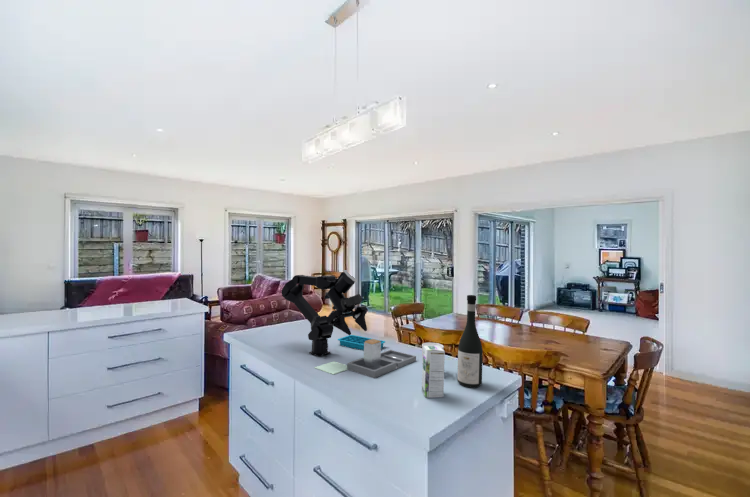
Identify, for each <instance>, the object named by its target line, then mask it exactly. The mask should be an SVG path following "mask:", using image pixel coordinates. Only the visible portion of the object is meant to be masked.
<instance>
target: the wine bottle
mask: <svg viewBox="0 0 750 497" xmlns="http://www.w3.org/2000/svg"><path fill="white" fill-rule="evenodd" d="M466 301H467V302H466V324H465V327H464V330H463V333H462V334H461V337H460V339H459V343H458V348H457V383H458V384H459V385H461V386H463V387H466V388H474V389H475V388H478V387H480V386H481V385H482V382H483V358H484V357H483V354H484V352H483V351H484V350H483V346H482V340H481V338H480V336H479V333H478V330H477V326H476V304H477V303H476V302H477V295H474V294H468V295H466Z"/></svg>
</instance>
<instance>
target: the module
mask: <svg viewBox="0 0 750 497" xmlns="http://www.w3.org/2000/svg"><path fill="white" fill-rule="evenodd" d="M381 351H382V348H381V342H380V339H377V340H376V338H371V339H370V340H367V341H365V342H364V350H363V358H364V367H366V368H369V369H372V370H376V369H378V368H380V361H381V353H382V352H381Z"/></svg>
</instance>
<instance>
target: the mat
mask: <svg viewBox="0 0 750 497" xmlns="http://www.w3.org/2000/svg"><path fill="white" fill-rule="evenodd" d="M313 369H316V370H318V371H320V372H324V373H326V374H330V375H337V374H340V373H343V372H346V371H349V370H348V369H347V364H344V363H340V362H337V361H331V362H328V363H324V364H321V365H318V366H315V367H314V368H313Z"/></svg>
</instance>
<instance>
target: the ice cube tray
mask: <svg viewBox="0 0 750 497" xmlns="http://www.w3.org/2000/svg"><path fill="white" fill-rule="evenodd" d="M370 339H372V337H371V338H370V337H366V336H361V335H355V334H351V335H346V336H343V337H340V338H337V341H339V345H340V346H341V347H345V346H346V348H350V347H351V349H354V348H356V349H355V350H359V349H360V350H362V351H364V342H365V341H367V340H370ZM375 339H376V338H375ZM376 340H378V339H376ZM379 340H380V339H379ZM380 342H381V349H383V348H384V344H385V343H386V341H385V340H382V339H381V340H380Z"/></svg>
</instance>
